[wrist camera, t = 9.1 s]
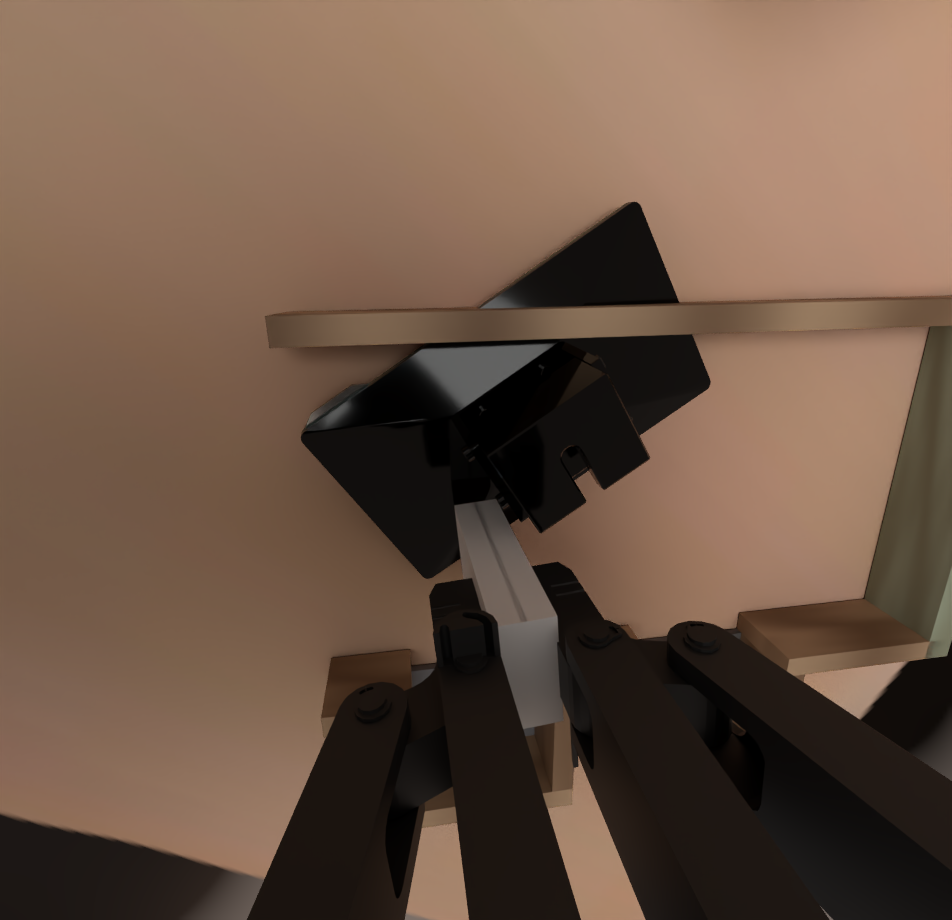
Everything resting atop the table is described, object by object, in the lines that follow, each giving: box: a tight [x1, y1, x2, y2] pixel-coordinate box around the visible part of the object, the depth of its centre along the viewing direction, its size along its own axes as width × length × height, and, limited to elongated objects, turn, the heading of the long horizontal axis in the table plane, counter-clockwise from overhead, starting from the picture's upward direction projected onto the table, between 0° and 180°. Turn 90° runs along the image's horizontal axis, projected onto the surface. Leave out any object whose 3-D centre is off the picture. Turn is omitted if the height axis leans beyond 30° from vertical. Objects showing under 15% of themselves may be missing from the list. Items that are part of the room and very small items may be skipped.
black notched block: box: [301, 202, 710, 579], centre depth 15 cm, size 12×7×5 cm, turn 123°
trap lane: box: [265, 296, 952, 828], centre depth 19 cm, size 24×18×3 cm
